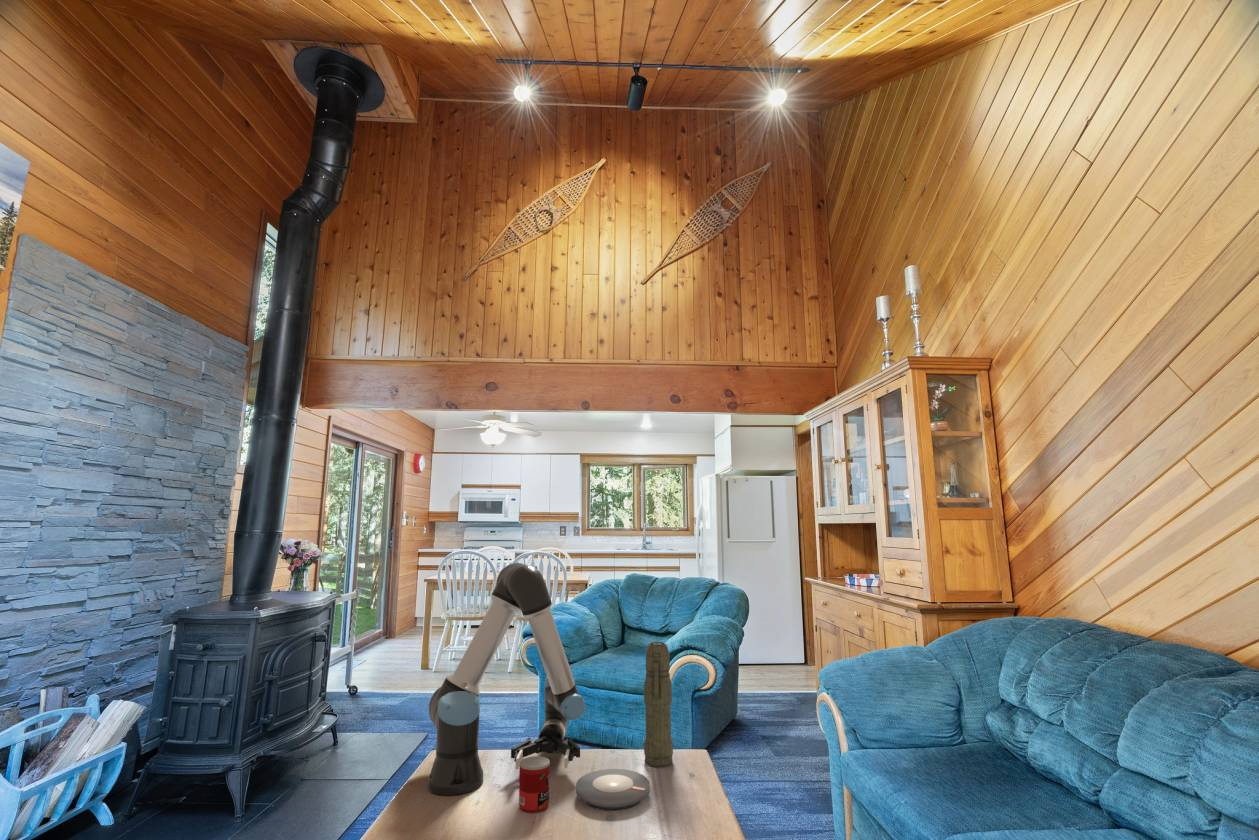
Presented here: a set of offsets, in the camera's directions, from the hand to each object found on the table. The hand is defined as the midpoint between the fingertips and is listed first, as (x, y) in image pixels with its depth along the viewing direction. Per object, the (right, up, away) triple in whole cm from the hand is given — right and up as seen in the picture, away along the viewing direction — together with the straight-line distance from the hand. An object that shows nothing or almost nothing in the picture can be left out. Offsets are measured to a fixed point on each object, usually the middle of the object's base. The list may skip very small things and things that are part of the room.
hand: (541, 763), depth 168 cm
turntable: (+20, -4, -5) cm, 21 cm away
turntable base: (+20, -6, -5) cm, 22 cm away
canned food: (0, -5, -11) cm, 12 cm away
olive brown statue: (+34, -10, +18) cm, 39 cm away
